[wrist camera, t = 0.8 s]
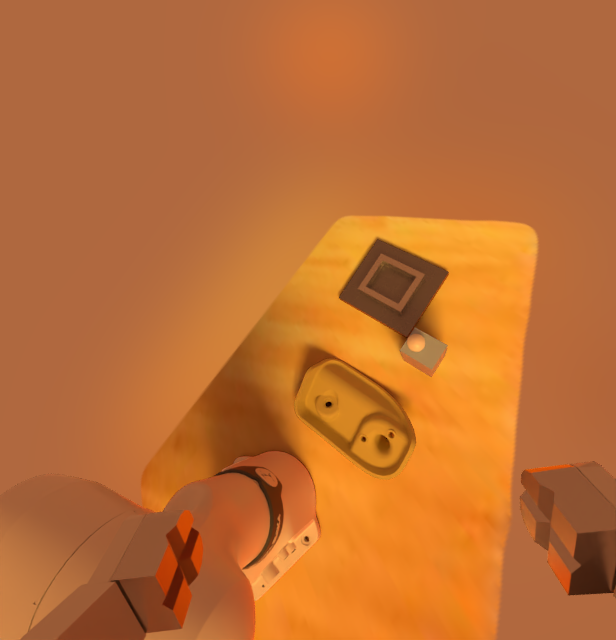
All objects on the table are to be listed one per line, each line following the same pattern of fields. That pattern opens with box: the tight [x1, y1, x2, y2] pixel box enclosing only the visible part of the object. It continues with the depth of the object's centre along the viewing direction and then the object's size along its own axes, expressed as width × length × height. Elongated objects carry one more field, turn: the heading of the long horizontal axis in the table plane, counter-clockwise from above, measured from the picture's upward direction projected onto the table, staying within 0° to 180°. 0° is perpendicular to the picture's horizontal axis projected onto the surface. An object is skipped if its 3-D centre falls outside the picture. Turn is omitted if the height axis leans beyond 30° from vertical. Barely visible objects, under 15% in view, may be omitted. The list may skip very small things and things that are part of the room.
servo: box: [400, 328, 448, 377], centre depth 51 cm, size 4×5×10 cm
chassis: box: [339, 240, 449, 338], centre depth 60 cm, size 13×14×3 cm
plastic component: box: [294, 358, 416, 480], centre depth 55 cm, size 20×7×10 cm
